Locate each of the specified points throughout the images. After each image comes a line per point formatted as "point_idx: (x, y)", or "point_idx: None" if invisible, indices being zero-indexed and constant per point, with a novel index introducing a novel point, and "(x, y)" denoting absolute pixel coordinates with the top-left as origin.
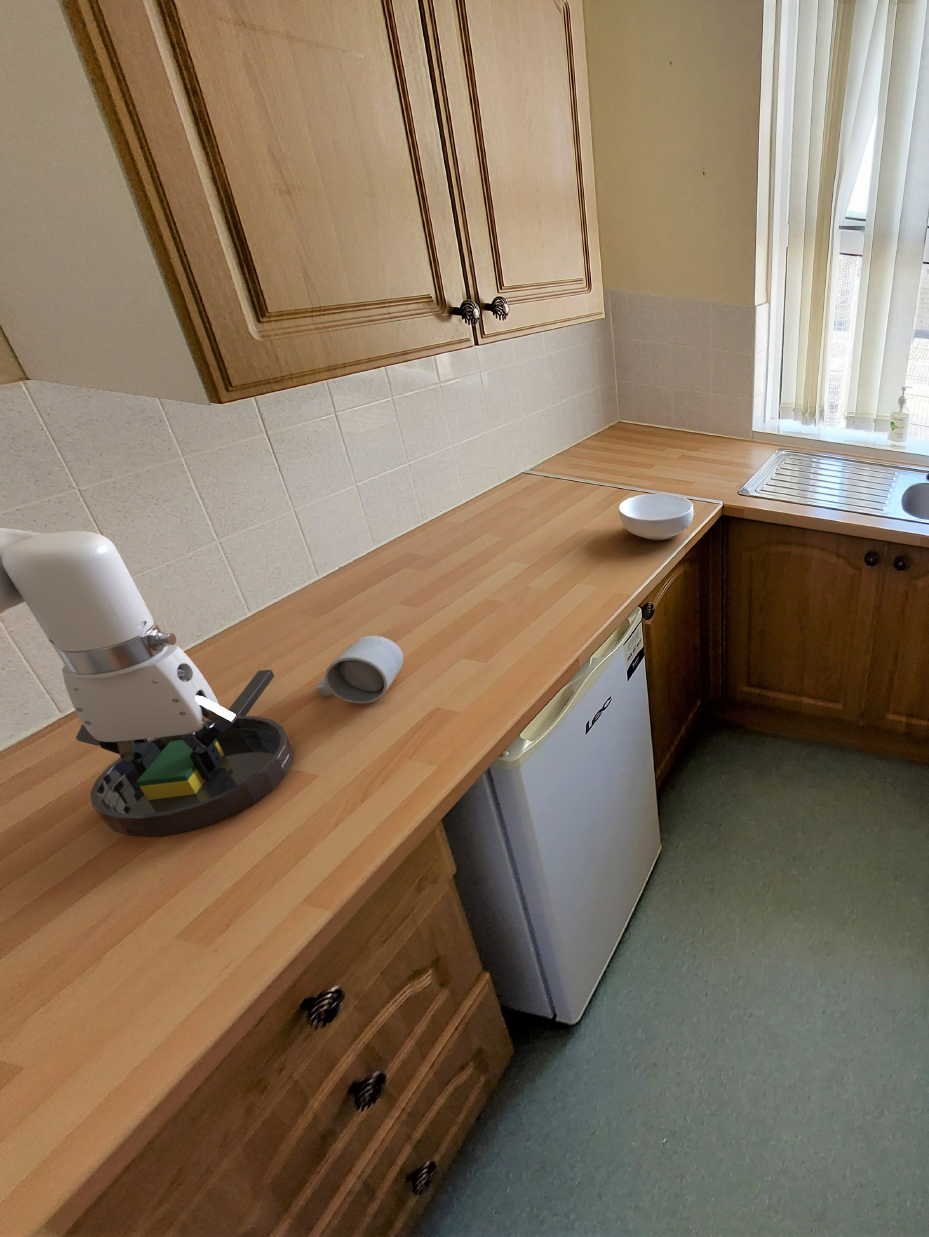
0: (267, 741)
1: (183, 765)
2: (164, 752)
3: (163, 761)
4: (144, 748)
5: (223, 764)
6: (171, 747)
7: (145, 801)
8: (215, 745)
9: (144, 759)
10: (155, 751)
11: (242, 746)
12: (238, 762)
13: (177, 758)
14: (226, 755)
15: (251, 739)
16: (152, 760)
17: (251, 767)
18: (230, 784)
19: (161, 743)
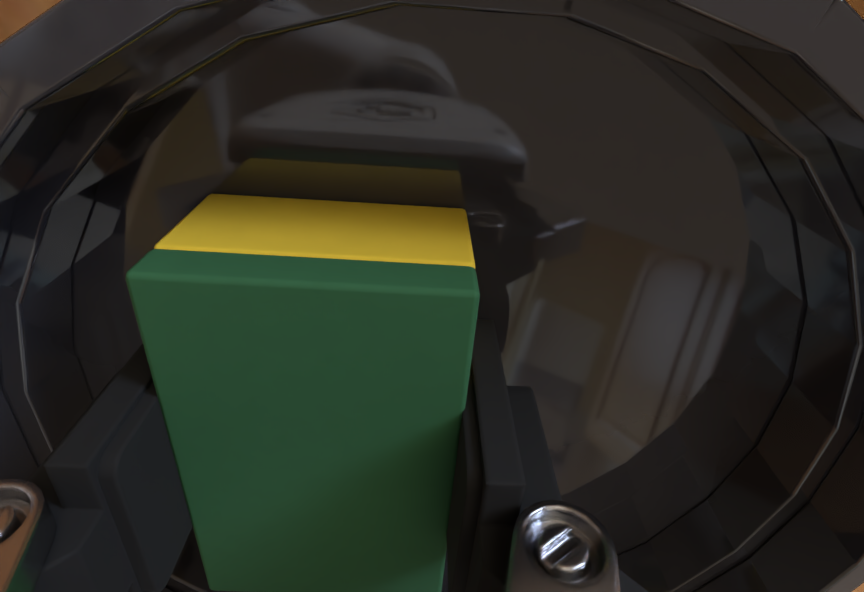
0: (716, 126)
1: (394, 538)
2: (187, 408)
3: (247, 487)
4: (97, 589)
5: (490, 305)
6: (198, 361)
7: None
8: (555, 479)
9: (158, 576)
10: (143, 462)
11: (556, 138)
12: (565, 304)
13: (320, 476)
14: (482, 223)
15: (605, 62)
16: (173, 484)
17: (640, 364)
18: (563, 450)
19: (16, 174)
